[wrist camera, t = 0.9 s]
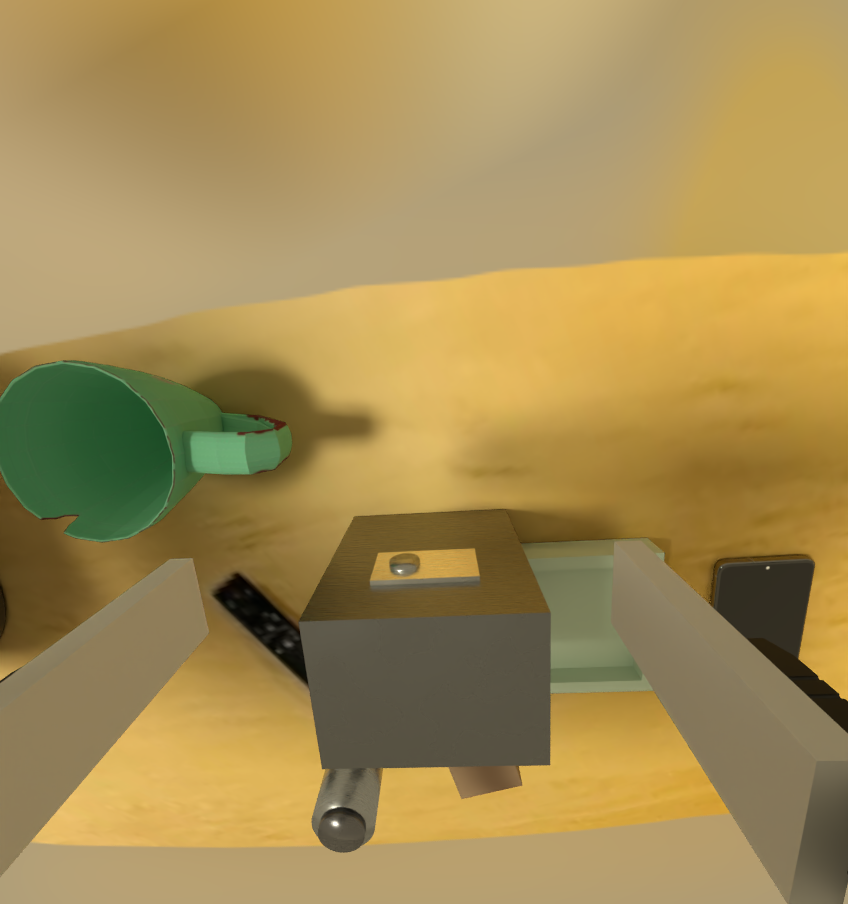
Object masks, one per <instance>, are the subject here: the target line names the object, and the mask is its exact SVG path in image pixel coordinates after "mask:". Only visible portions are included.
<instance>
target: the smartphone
mask: <svg viewBox="0 0 848 904" xmlns="http://www.w3.org/2000/svg"><path fill="white" fill-rule="evenodd" d="M814 568H815V562H814V561H813V560H812V559H811V558H809V557H807V556H803V555H797V556H778V557H760V558H742V559H724V560H720V561H718V562H717V563H716V566H715V569H714V577H713V586H712V595H711V604H710V605H711V606H712V607H713V608H714V609H715V610H716V611H717V612H718V613H719V614H720V615H721V616H722V617H723V618H725V619H726V620H727V621H728V622H729V623H730V624H731V625H732V626H733V627H734V628H735V629H736V630H737V631H738V632H740V633H741V634H742V635H743V636H744V637H745V638H764V639H766V640H768V641H769V642H771V643H773V644H775V645H777V646H778V647H780V648H782V649H784V650H785V651H787V652H789V653H791V654H793V655H794V656H795V657H796V658H797V659H798V658H799V652H800V647H801V641H802V635H803V630H804V624H805V619H806V613H807V608H808V602H809V596H810V591H811V585H812V580H813V574H814Z"/></svg>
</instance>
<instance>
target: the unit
mask: <svg viewBox="0 0 848 904" xmlns="http://www.w3.org/2000/svg"><path fill="white" fill-rule="evenodd" d="M299 628H300V635H301V641H302V647H303V653H304V659H305V666H306V672H307V678H308V684H309V690H310V696H311V703H312V709H313V715H314V721H315V727H316V734H317V740H318V746H319V752H320V758H321V765H322V769H357V768H415V767H473V766H531V765H550V680H551V612H550V609H549V607H548V605H547V603H546V600H545V598H544V596H543V593H542V591H541V589H540V587H539V584H538V582H537V580H536V577H535V575H534V573H533V571H532V568H531V566H530V564H529V561H528V559H527V557H526V555H525V552H524V550H523V548H522V546H521V543H520V541H519V539H518V536H517V534H516V532H515V530H514V527H513V525H512V523H511V520H510V518H509V516H508V514H507V511H506V509H497V510H477V511H457V512H437V513H417V514H398V515H378V516H358V517H354V518H353V520H352V522H351V524H350V526H349V528H348V530H347V532H346V533H345V535H344V537H343V539H342V541H341V543H340V545H339V547H338V548H337V550H336V552H335V554H334V556H333V558H332V560H331V562H330V563H329V565H328V567H327V569H326V571H325V573H324V575H323V577H322V578H321V580H320V582H319V584H318V586H317V588H316V590H315V592H314V593H313V595H312V597H311V599H310V601H309V603H308V605H307V607H306V609H305V610H304V612H303V614H302V616H301V618H300V620H299Z"/></svg>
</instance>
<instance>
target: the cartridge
mask: <svg viewBox="0 0 848 904" xmlns="http://www.w3.org/2000/svg"><path fill="white" fill-rule="evenodd" d="M382 772H383V768H357V769H325V773H324V776H323V780H322V784H321V787H320V791H319V795H318V798H317V802H316V806H315V809H314V813H313V816H312V827H313V830H314V832H315V834H316V835H317V836H318V838H319V840H320V841H321V843H322V844H323V845H324V846H325V847H327V848H328V849H330V850H333V851H336V852H351V851H354V850H356V849H358V848H359V847H360V846H361V845H363V844H365V843H366V842H368V841H369V840H370V839H371V837H372V836H373V834H374V830H375V823H376V816H377V808H378V801H379V794H380V786H381V779H382Z"/></svg>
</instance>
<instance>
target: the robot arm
mask: <svg viewBox="0 0 848 904" xmlns="http://www.w3.org/2000/svg"><path fill="white" fill-rule="evenodd" d="M611 623H612V625H613V626H614V628H615V630H616V631H617V633H618V634H619V636H620V638H621V639H622V641H623V642H624V644H625V646H626V647H627V649H628V650H629V652H630V654H631V655H632V657H633V658H634V660H635V662H636V663H637V665H638V666H639V668H640V670H641V671H642V673H643V674H644V676H645V677H646V679H647V681H648V682H649V684H650V685H651V687H652V689H653V690H654V692H655V693H656V695H657V697H658V698H659V700H660V701H661V703H662V705H663V706H664V708H665V709H666V711H667V713H668V714H669V716H670V717H671V719H672V721H673V722H674V724H675V725H676V727H677V729H678V730H679V732H680V733H681V735H682V737H683V738H684V740H685V741H686V743H687V744H688V746H689V748H690V749H691V751H692V752H693V754H694V756H695V757H696V759H697V760H698V762H699V764H700V765H701V767H702V768H703V770H704V772H705V773H706V775H707V776H708V778H709V780H710V781H711V783H712V784H713V786H714V788H715V789H716V791H717V792H718V794H719V796H720V797H721V799H722V800H723V802H724V803H725V805H726V807H727V808H728V810H729V811H730V813H731V815H732V816H733V818H734V819H735V821H736V822H737V824H738V826H739V827H740V829H741V830H742V832H743V834H744V835H745V837H746V839H747V840H748V842H749V843H750V845H751V846H752V848H753V850H754V851H755V853H756V855H757V856H758V858H759V859H760V861H761V862H762V864H763V866H764V867H765V869H766V870H767V872H768V874H769V875H770V877H771V878H772V880H773V881H774V883H775V885H776V886H777V888H778V890H779V891H780V893H781V894H782V896H783V897H784V899H785V901H786V902H787V904H843V901H844V897H845V892H846V888H847V884H848V701H847V700H846V699H841V698H840V696H839V694H838V693H837V692H836V691H835V690H834V689H833V688H831V687H830V686H829V685H828V684H827V683H826V682H824V681H823V680H819V678H818V676H817V675H816V674H815V673H814V672H813V671H812V670H810V669H809V668H808V667H807V666H806V665H805V664H803V663H802V662H801V661H800V660H799V659H797V658H796V657H795V656H794V655H793V654H791V653H789V652H787V651H785V650H784V649H782V648H780V647H778V646H777V645H775V644H773V643H771V642H769V641H768V640H766V639H764V638H745V637H744V636H743V635H742V634H741V633H740V632H738V631H737V630H736V629H735V628H734V627H733V626H732V625H731V624H730V623H729V622H728V621H727V620H726V619H725V618H723V617H722V616H721V615H720V614H719V613H718V612H717V611H716V610H715V609H714V608H713V607H712V606H711V605H710V604H708V603H707V602H706V601H705V600H704V599H703V598H702V597H701V596H700V595H699V594H698V593H697V592H696V591H695V590H693V589H692V588H691V587H690V586H689V585H688V584H687V583H686V582H685V581H684V580H683V579H682V578H681V577H680V576H678V575H677V574H676V573H675V572H674V571H673V570H672V569H671V568H670V567H669V566H668V565H667V564H666V563H665V562H663V561H662V560H661V559H660V558H659V557H658V556H657V555H656V554H655V553H654V552H653V551H652V550H651V549H650V548H648V547H647V546H646V545H645V544H644V543H643V542H642V541H641V540H639V541H614V562H613V585H612V608H611ZM4 624H5V604H4V598H3V594H2V591H1V588H0V637H1V634H2V632H3V628H4ZM208 634H209V629H208V625H207V620H206V616H205V611H204V607H203V602H202V598H201V593H200V589H199V584H198V580H197V575H196V571H195V566H194V562H193V558H182V559H169V560H168V561H166V562H165V563H164V564H162V565H161V566H160V567H158V568H157V569H156V570H154V571H153V572H151V573H150V574H149V575H147V576H146V577H145V578H143V579H142V580H141V581H139V582H138V583H136V584H135V585H134V586H132V587H131V588H130V589H128V590H127V591H126V592H124V593H123V594H121V595H120V596H119V597H117V598H116V599H115V600H113V601H112V602H110V603H109V604H108V605H106V606H105V607H104V608H102V609H101V610H100V611H98V612H97V613H95V614H94V615H93V616H91V617H90V618H89V619H87V620H86V621H85V622H83V623H82V624H80V625H79V626H78V627H76V628H75V629H74V630H72V631H71V632H70V633H68V634H67V635H65V636H64V637H63V638H61V639H60V640H59V641H57V642H56V643H55V644H53V645H52V646H50V647H49V648H48V649H46V650H45V651H44V652H42V653H41V654H40V655H38V656H37V657H35V658H34V659H33V660H31V661H30V662H29V663H27V664H26V665H25V666H23V667H21V668H19V669H17V670H16V671H14V672H12V673H11V674H9V675H8V676H6V677H5V678H4V679H2V680H1V681H0V877H1V876H2V874H3V873H4V872H5V871H6V870H7V869H8V868H9V866H10V865H11V864H12V863H13V862H14V860H15V859H16V858H17V857H18V856H19V855H20V853H21V852H22V851H23V850H24V849H25V848H26V846H27V845H28V844H29V843H30V842H31V841H32V839H33V838H34V837H35V836H36V835H37V834H38V832H39V831H40V830H41V829H42V828H43V827H44V825H45V824H46V823H47V822H48V821H49V820H50V818H51V817H52V816H53V815H54V814H55V813H56V811H57V810H58V809H59V808H60V807H61V806H62V804H63V803H64V802H65V801H66V800H67V799H68V797H69V796H70V795H71V794H72V793H73V792H74V790H75V789H76V788H77V787H78V786H79V785H80V783H81V782H82V781H83V780H84V779H85V778H86V776H87V775H88V774H89V773H90V772H91V771H92V769H93V768H94V767H95V766H96V765H97V763H98V762H99V761H100V760H101V759H102V758H103V756H104V755H105V754H106V753H107V752H108V751H109V749H110V748H111V747H112V746H113V745H114V744H115V742H116V741H117V740H118V739H119V738H120V737H121V735H122V734H123V733H124V732H125V731H126V730H127V728H128V727H129V726H130V725H131V724H132V723H133V721H134V720H135V719H136V718H137V717H138V716H139V714H140V713H141V712H142V711H143V710H144V709H145V707H146V706H147V705H148V704H149V703H150V702H151V700H152V699H153V698H154V697H155V696H156V695H157V693H158V692H159V691H160V690H161V689H162V688H163V686H164V685H165V684H166V683H167V682H168V681H169V679H170V678H171V677H172V676H173V675H174V674H175V672H176V671H177V670H178V669H179V668H180V666H181V665H182V664H183V663H184V662H185V661H186V659H187V658H188V657H189V656H190V655H191V654H192V652H193V651H194V650H195V649H196V648H197V647H198V645H199V644H200V643H201V642H202V641H203V640H204V638H205V637H206V636H207V635H208Z"/></svg>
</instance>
